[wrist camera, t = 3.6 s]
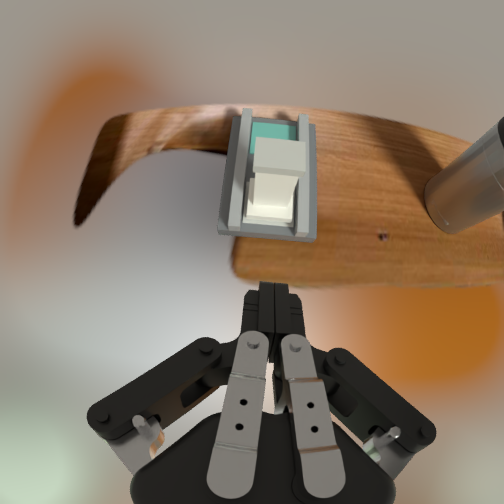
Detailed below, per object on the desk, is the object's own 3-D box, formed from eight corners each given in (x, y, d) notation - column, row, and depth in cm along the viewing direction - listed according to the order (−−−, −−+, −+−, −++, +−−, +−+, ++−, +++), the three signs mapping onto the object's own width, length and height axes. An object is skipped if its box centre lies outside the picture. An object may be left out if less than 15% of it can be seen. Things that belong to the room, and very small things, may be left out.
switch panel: (233, 124, 36) (232, 107, 32) (312, 132, 36) (318, 116, 32) (218, 234, 32) (215, 224, 29) (312, 242, 32) (320, 233, 29)
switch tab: (249, 182, 31) (251, 128, 21) (291, 186, 31) (310, 135, 21) (246, 218, 30) (246, 174, 20) (290, 222, 30) (310, 181, 20)
